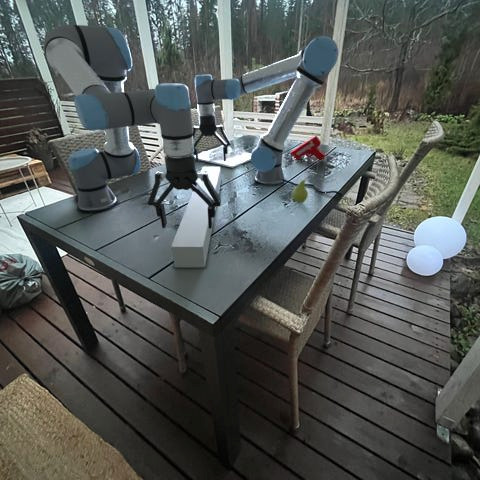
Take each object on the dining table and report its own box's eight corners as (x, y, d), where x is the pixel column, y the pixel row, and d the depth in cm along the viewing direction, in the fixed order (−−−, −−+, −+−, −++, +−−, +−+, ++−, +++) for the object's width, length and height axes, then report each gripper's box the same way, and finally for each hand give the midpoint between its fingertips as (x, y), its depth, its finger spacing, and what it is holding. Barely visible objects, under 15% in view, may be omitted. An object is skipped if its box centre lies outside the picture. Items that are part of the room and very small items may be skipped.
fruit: (288, 200, 123) (290, 174, 116) (302, 197, 125) (305, 172, 119) (296, 206, 118) (299, 179, 111) (310, 203, 120) (314, 177, 114)
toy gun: (328, 155, 171) (316, 134, 167) (328, 157, 168) (316, 136, 164) (303, 170, 181) (291, 151, 177) (303, 172, 178) (290, 152, 174)
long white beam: (203, 180, 145) (202, 166, 141) (221, 180, 145) (220, 166, 141) (174, 267, 83) (171, 246, 78) (204, 267, 82) (202, 246, 78)
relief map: (232, 167, 162) (232, 159, 160) (191, 158, 180) (190, 150, 177) (257, 157, 181) (258, 149, 178) (218, 149, 198) (217, 142, 196)
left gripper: (124, 158, 65) (141, 232, 77) (228, 159, 65) (229, 233, 77) (135, 149, 72) (149, 219, 84) (229, 150, 72) (230, 220, 84)
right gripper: (177, 116, 120) (185, 164, 132) (233, 114, 120) (236, 162, 131) (181, 114, 127) (187, 160, 138) (234, 112, 126) (236, 158, 137)
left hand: (187, 226), depth 80 cm, fingers open, 13 cm apart
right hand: (211, 161), depth 134 cm, fingers open, 13 cm apart
